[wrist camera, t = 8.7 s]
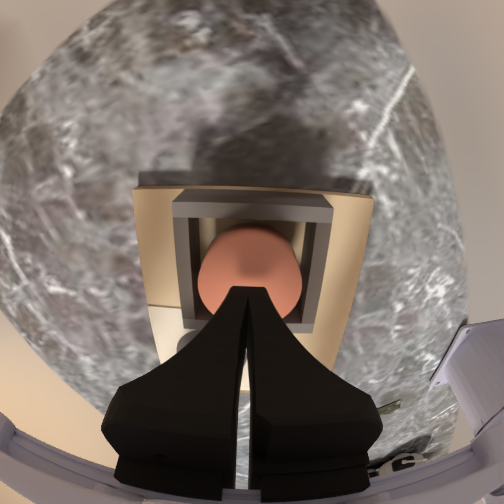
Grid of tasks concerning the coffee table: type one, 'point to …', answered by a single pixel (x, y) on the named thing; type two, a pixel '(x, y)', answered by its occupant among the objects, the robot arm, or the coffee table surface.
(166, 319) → the wooden base tray
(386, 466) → the robot toy
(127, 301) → the coffee table surface
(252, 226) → the button
